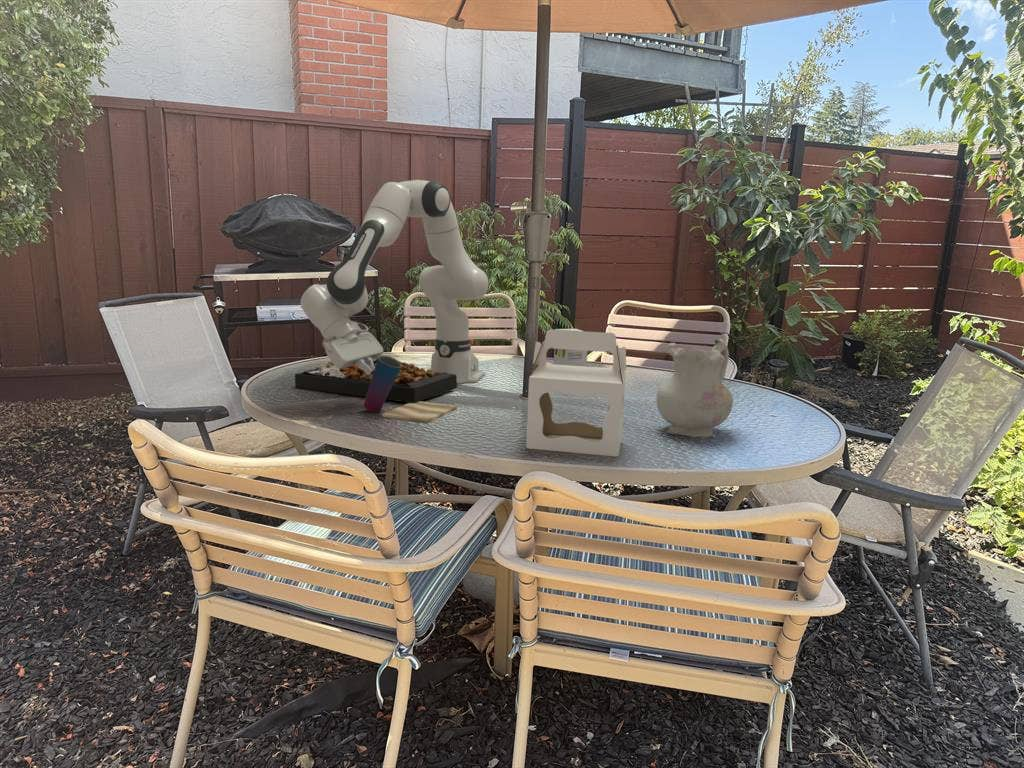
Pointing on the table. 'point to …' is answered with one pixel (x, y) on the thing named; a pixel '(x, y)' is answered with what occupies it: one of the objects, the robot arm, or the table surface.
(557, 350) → the supplement box
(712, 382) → the ceramic pitcher
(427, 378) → the food platter
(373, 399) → the cup
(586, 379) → the gable box
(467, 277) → the robot arm
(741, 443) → the table surface
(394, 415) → the wooden board
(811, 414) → the table surface
